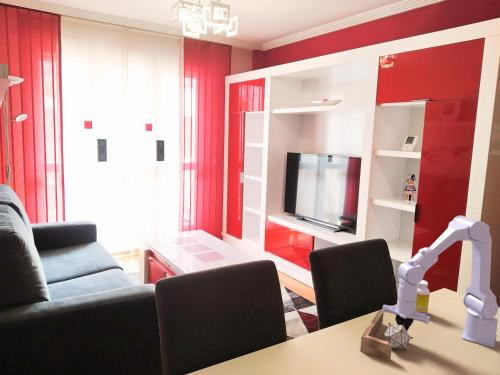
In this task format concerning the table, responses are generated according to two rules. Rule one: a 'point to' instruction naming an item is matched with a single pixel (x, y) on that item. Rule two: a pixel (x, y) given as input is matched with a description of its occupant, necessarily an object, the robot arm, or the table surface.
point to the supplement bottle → (422, 298)
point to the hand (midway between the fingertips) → (402, 337)
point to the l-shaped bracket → (375, 340)
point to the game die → (397, 336)
